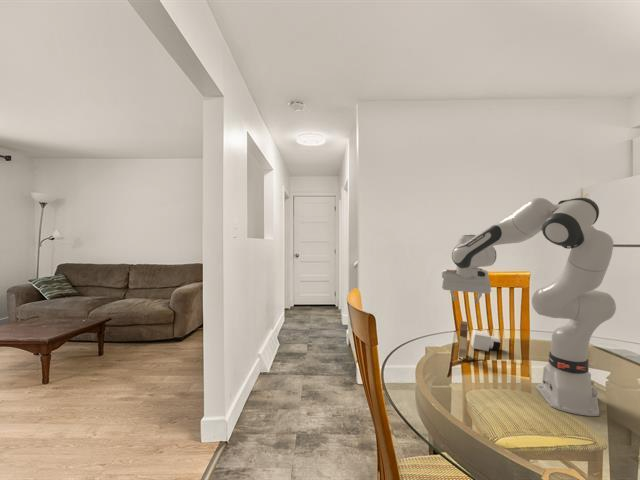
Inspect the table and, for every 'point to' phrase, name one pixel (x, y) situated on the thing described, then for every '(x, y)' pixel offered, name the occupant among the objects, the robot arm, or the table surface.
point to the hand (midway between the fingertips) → (465, 301)
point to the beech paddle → (463, 339)
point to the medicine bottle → (484, 341)
